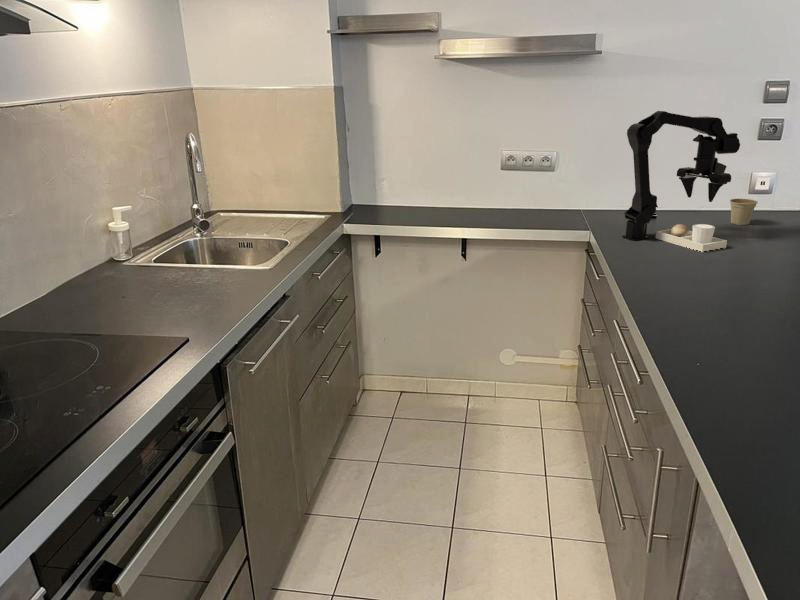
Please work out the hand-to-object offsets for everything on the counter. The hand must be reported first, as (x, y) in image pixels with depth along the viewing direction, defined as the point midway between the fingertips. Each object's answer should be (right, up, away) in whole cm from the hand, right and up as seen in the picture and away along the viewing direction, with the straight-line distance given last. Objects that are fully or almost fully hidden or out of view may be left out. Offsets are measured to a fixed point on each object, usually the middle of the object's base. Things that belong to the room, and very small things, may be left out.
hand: (699, 199), depth 218 cm
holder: (-7, -16, -6) cm, 18 cm away
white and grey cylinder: (-5, -18, -11) cm, 21 cm away
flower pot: (+23, -7, +16) cm, 29 cm away
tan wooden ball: (-8, -14, -2) cm, 17 cm away
